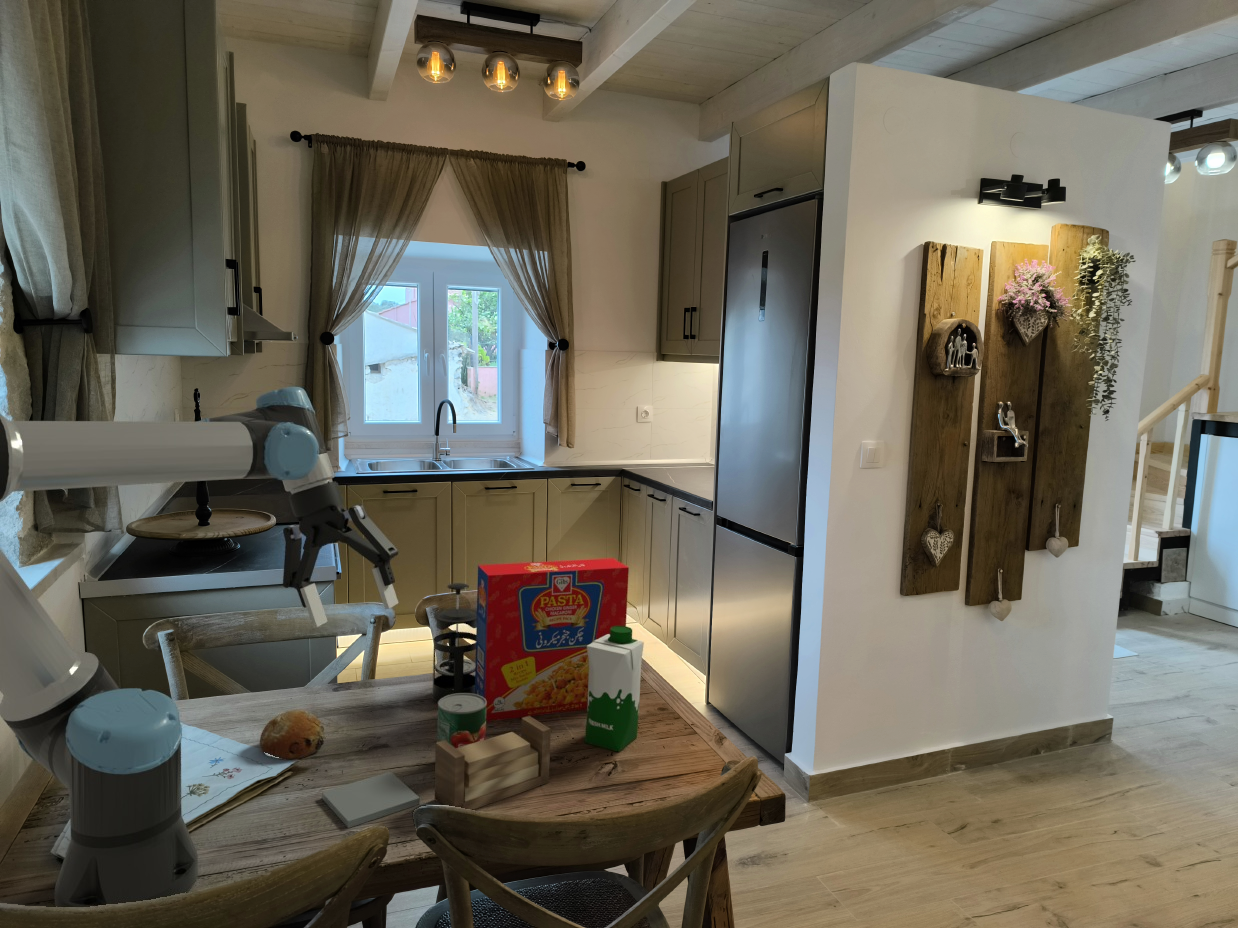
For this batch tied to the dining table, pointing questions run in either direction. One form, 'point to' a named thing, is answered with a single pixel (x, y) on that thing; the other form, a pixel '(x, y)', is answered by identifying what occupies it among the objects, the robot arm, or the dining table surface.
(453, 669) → the french press
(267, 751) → the bread roll
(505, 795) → the walnut rack
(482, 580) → the pasta box
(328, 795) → the grey tile
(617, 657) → the milk carton
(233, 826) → the dining table surface
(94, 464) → the robot arm
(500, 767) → the offcut stack
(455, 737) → the canned tomato
